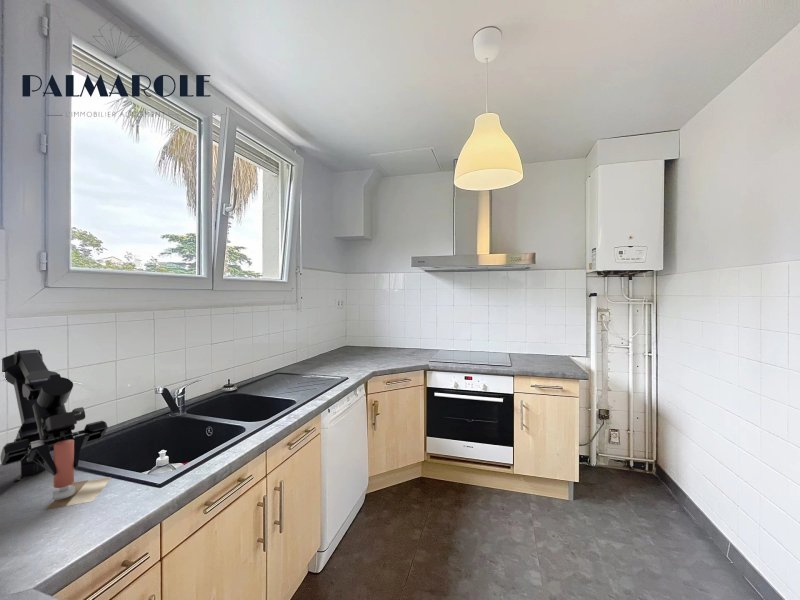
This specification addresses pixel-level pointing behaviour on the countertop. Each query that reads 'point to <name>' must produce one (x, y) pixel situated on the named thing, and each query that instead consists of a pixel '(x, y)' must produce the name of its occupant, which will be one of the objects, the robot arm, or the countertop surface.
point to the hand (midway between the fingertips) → (65, 470)
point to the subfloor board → (81, 493)
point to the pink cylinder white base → (63, 469)
